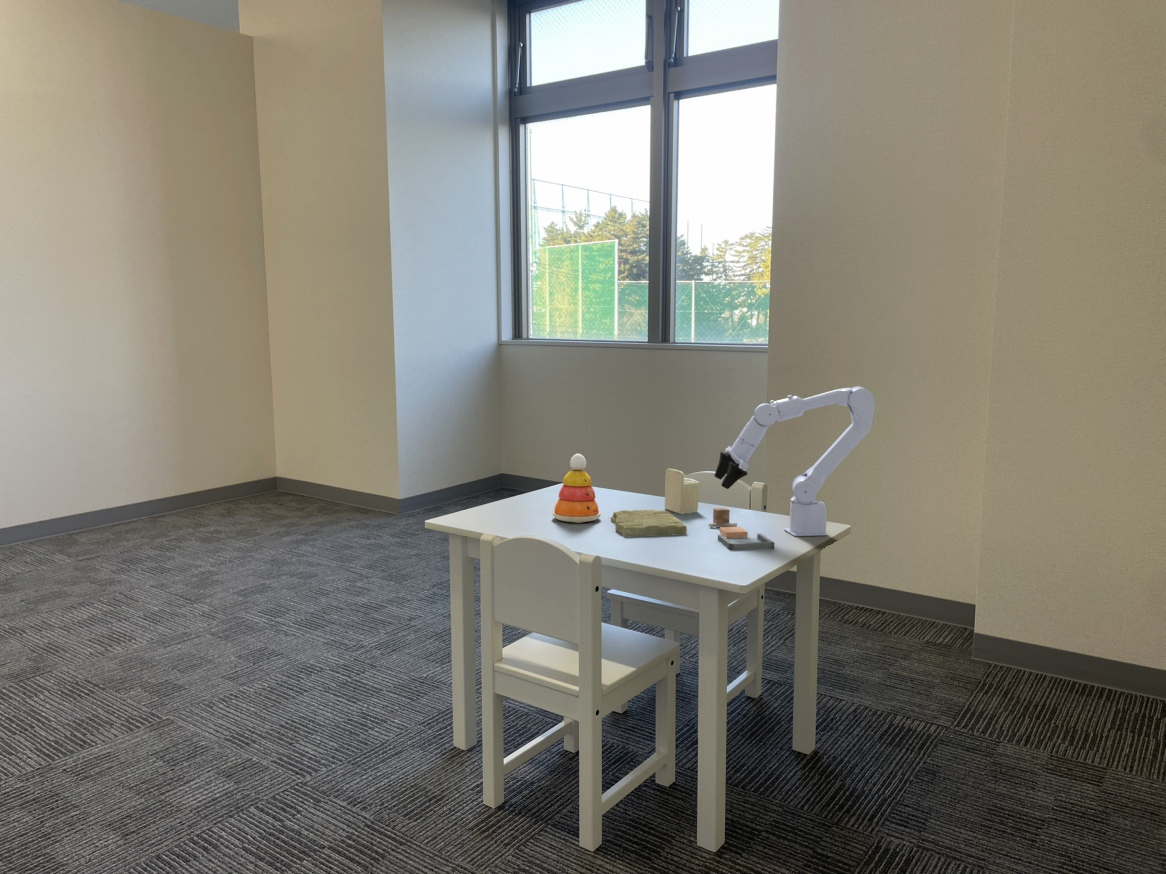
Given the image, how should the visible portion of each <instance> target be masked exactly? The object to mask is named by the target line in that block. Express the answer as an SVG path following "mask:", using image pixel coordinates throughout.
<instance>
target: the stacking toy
mask: <svg viewBox="0 0 1166 874" xmlns="http://www.w3.org/2000/svg"><path fill="white" fill-rule="evenodd" d="M569 466H570V468H571V469H572V470H570V471H568V472H567V473H566V474H565V475H564V478H563V480H562V486H561V488H560V490H559V492H558V500H557V501H556V504H555V506H554V510H553V511H552V513H551V514H552V517H553V518H554V519H557V520H558V521H562V522H568V523H576V524H581V523H586V522H593V521H596V520H597V519H599V518H600V517H601V511H599V506H598V503H597V502H596V500H595V499H596V494H595V493H596V492H595V490H594V488H593V487H592V483H593V482H592V478H591V476H590V475H589V474H588V473H587V472H586V471H585V469H586V467H587V459H586V458H585V456H583V454H581V453H575V454H574V455H573V456H572V457H571V458H570V461H569Z"/></svg>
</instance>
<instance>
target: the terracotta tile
mask: <svg viewBox="0 0 1166 874" xmlns="http://www.w3.org/2000/svg"><path fill="white" fill-rule="evenodd" d="M719 532H720V533H721V534H722V535H723V536H724V537H726V539H742V538H743V537H746V538H745V539H747V538H748V535H749V534H748V533H749V531H747V530H745V529H744V528H743V527H741V526H737V527H720V528H719ZM719 532H718V533H719ZM720 533H719V534H720ZM721 534H720V535H721ZM739 537H741V538H739ZM743 539H744V538H743Z"/></svg>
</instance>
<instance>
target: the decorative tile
mask: <svg viewBox="0 0 1166 874" xmlns="http://www.w3.org/2000/svg"><path fill="white" fill-rule="evenodd" d="M610 522H611V523H613V524H614V525H615V530H616V531H617V532H618V534H620V535H621V534H622V535H621V536H622V537H623V536H631V537H647V536H646V535H659V536H673V535H672V534H685V535H687V533H688V532H687V531H688V527H687V525H685V523H683V522H682V521H681V520H680V519H679V518H677V517H676V516H675V515H673V514H671V513H670V512H668V510H666V509H664V510H656V509H655V510H653V509H648V510H647V509H634V510H627V509H625V510H620V511H619V510H618V511H614V512H613V514H612V516H611V517H610Z"/></svg>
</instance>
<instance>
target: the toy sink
mask: <svg viewBox="0 0 1166 874" xmlns="http://www.w3.org/2000/svg"><path fill="white" fill-rule="evenodd" d="M664 484H665V485H664V486H665V487H664V488H665V489H664V510H666V511H671V512H673V513H675V514H676V513H677V514H680V515H685V513H687V514H693V513H692V512H695V513H698V512H697V511H699V492H700V491H699V490H700V489H699V487H700V485H701V484H700V481H697V479H696V480H695V479H692V478H688V477H687V475H686V474H685V472H683V471H681V470H678V469H675V468H666V469H665V483H664Z"/></svg>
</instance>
